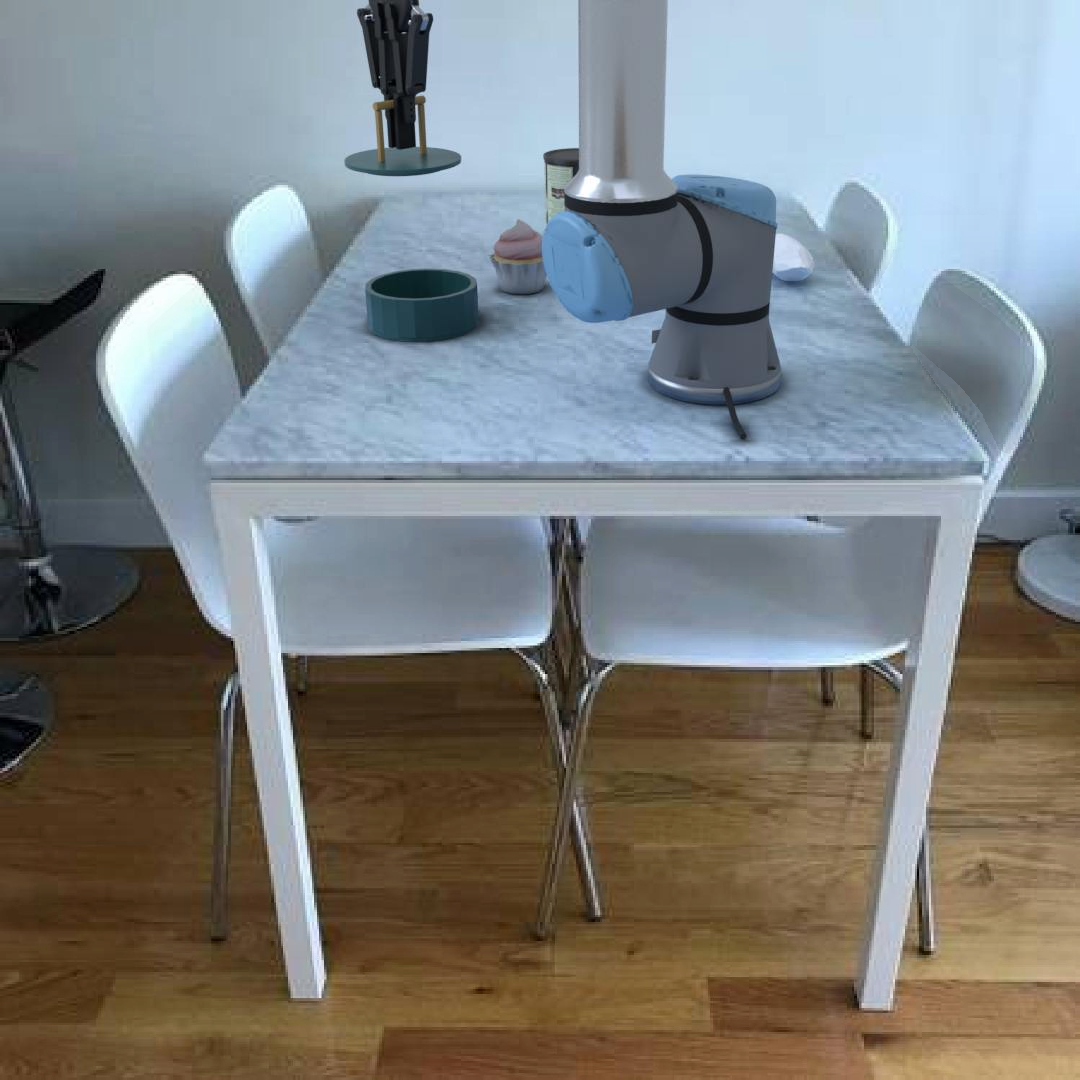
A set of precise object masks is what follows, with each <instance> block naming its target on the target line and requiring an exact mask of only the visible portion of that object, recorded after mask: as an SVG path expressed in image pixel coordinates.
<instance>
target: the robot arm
mask: <svg viewBox="0 0 1080 1080" xmlns="http://www.w3.org/2000/svg"><path fill="white" fill-rule="evenodd" d="M668 4H669V0H577V13H578V14H577V26H578V29H577V30H578V31H577V32H578V43H577V44H578V148H579V171H578V173H577V174H576V175H575V176H574V177H573V179H572V180H571V181H570V182H569V183H568V184H567V185H566V186H565V189H564V205H565V211H564V212H559V213H558V214H557V215H555V216H554V217H552V218H551V219H550V220H549V221H548V223H547V228H544V230H543V233H542V257H543V263H544V267H545V271H546V274H547V276H546V278H547V280H548V283H549V285H550V287H551V290H552V292H553V293H554V294H555V296H556V297H557V299H558V301H559V303H560V304H561V305H562V306H563V307H564V309H565V310H566V311H567V312H568V313H569V314H571V316H573V317H575V318H577V320H580V321H581V322H585V323H589V324H598V323H599V324H600V323H604V322H612V321H614V322H621V321H622V322H623V321H625V320H627V319H629V318H633V317H637V316H642V315H645V314H650V313H654V312H659V311H662V310H665V316H664V319H663V323H662V325H661V328H660V329H654V330H653V329H652V330H651V344H654V347H653V350H652V352H651V355H650V358H649V361H648V364H647V381H648V384H649V386H650V387H651V388H652V389H654V390H655V391H656V392H658V393H660V394H662V395H664V396H666V397H669V398H671V399H675V400H678V401H683V402H688V403H694V404H701V405H726V406H727V410H728V414H729V417H730V421H731V423H732V425H733V428H734V429H735V431H736V434H737V435H738V437H739V438H740V440H743V441H745V440H747V437H748V435H747V433H746V432H745V430H744V428H743V425H742V424H741V422H740V420H739V418H738V415H737V411H736V407H735V405H737V404H743V403H744V404H745V403H751V402H755V401H759V400H761V399H764V398H766V397H768V396H771V395H772V394H774V393H775V392H776V391H778V390H779V388H780V385H781V376H782V366H781V362H780V358H779V354H778V349H777V346H776V343H775V338H774V334H773V331H772V327H771V323H770V307H771V292H772V282H773V272H772V271H773V260H774V248H775V237H776V234H777V230H778V223H777V198H776V195H775V193H774V191H773V190H772V189H771V188H770V187H768V186H766V185H764V184H762V183H759V182H755V181H751V180H746V179H741V178H737V177H736V178H735V177H729V176H720V175H711V174H696V173H695V174H678V175H675V176H674V177H672V178H671V177H670V176H669V175H668V174H667V172H666V171H665V169H664V166H665V165H664V164H665V163H664V162H665V132H666V131H665V129H666V125H665V124H666V92H667V90H666V88H667V87H666V86H667V50H668V49H667V48H668V45H667V43H668V16H669V15H668V14H669V13H668V12H669V11H668V9H669V5H668ZM356 15H357V18H358V21H359V23H360V26H361V30H362V35H363V41H364V46H365V52H366V58H367V63H368V69H369V70H368V71H369V75H370V81H371V85H372V88H373V89H378V90H379V91H380V93H381V94H382V96H383V101H388V100H393V102H394V108H392V109H386V110H384V116H385V120H386V128H387V146H388V148H395V147H396V149H399V150H402V149H407V148H413V147H417V140H416V139H417V138H416V136H417V135H416V121H417V114H416V113H417V112H416V111H417V110H416V105H415V96H418V94H420V93H425V92H426V90H427V77H428V62H429V61H428V60H429V46H430V45H429V44H430V34H431V33H430V32H431V30H432V25H433V23H434V16H433V13H431V12H426V13H425V12H424V11H423V10H422V9H421V8H420V1H419V0H368V3H367V5H366V6H365V7H359V8H357V10H356Z"/></svg>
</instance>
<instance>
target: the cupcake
mask: <svg viewBox="0 0 1080 1080" xmlns="http://www.w3.org/2000/svg"><path fill="white" fill-rule="evenodd" d="M542 237H543V234H541V233H539V231H536V230H534V229H533V228H532V227H531V226H530V225H529V224H528V223H527V222H525V221H524V220H521V219H519V218H517V219H516V223H515V225H514V226H513V227H511V228H508V229H506V230H505V231H504V232H502V233H501V234H500V235H499V239H498V240H497V241H495V243H494V245H493V251H494V253H493V254H489V255H488V258H489V261H490V262H491V264H492V266H493V267H494V270H495V273H496V278H497V282H498V285H499V288H500V290H501V291H502V292H504V293H507V294H511V295H529V294H530V295H531V294H536V293H538V292H540V291H542V290H543V289H544V288H545V284H546V279H547V274H546V271H545V267H544V263H543V257H542Z"/></svg>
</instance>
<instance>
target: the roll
mask: <svg viewBox="0 0 1080 1080" xmlns="http://www.w3.org/2000/svg"><path fill="white" fill-rule="evenodd" d="M814 268H815V262H814V258H813V256H812V254H811V253H810V251H809V250H808V249H807V248H806V247H805V246H804V245H803V244H802V243H801V242H799V241H798V240H796V239H795V238H794V237H792V236H789V235H787V234H785V233H776V237H775V248H774V260H773V271H772V274H774V275H775V276H776V277H777V278H778V279H780V280H781V281H784V282H785V281H786V282H801V281H804V280H805V279H807V278H808V277H810V276H811V275H812V274H813V273H814Z"/></svg>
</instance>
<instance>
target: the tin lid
mask: <svg viewBox="0 0 1080 1080" xmlns="http://www.w3.org/2000/svg"><path fill="white" fill-rule="evenodd" d="M426 102H427V99H426V96H425V95H423V94H421V95H416V96H415V106H417V121H418V122H417V123H418V141H419V146H416V147H413V148H407V149H402V150H399V149H396V147H395V148H390V147H385V135H384V121H383V120H384V119H383V111H385V110H386V109H392V108H394V102H393V100H388V101H384V100H383V101H375V102H373V103H372V109H373V111H374V118H375V133H376V135H375V136H376V148H374V149H368V150H362V151H358V152H355V153H352V154H349V155H347V156H346V157H345V158H344V161H343V162H344V166H345V168H347V169H349V170H351V171H354V172H358V173H363V174H368V175H372V176H381V177H415V176H416V177H417V176H422V175H423V176H424V175H430V174H434V173H438V172H441V171H445V170H449V169H452V168H455V167H457V166H459V165H460V164H461V163H462V155H461V154H460V153H459V152H457V151H454V150H450V149H446V148H440V147H430V146H427V132H426V131H427V130H426V110H425V103H426Z"/></svg>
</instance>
